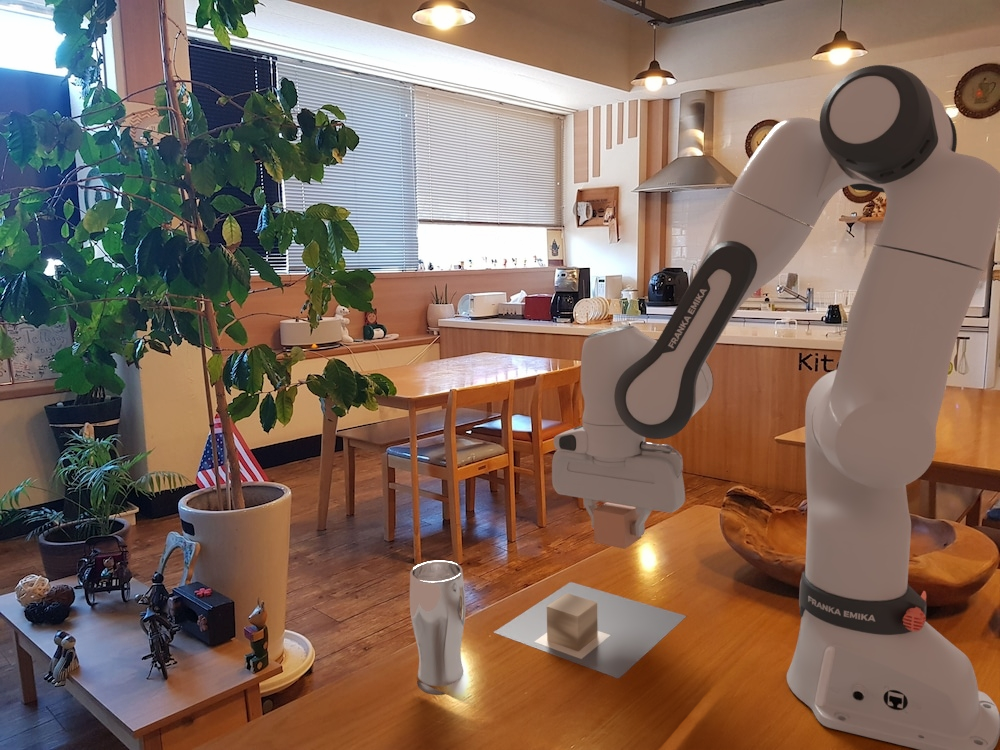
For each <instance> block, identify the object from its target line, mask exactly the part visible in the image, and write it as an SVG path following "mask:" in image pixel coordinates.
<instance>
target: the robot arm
mask: <svg viewBox="0 0 1000 750" xmlns="http://www.w3.org/2000/svg"><path fill="white" fill-rule="evenodd" d="M957 145H958V137H957V130H956V127H955V124H954V122H953V120H952V118H951V117H950V115H949V114H948V113H947V112H946V110H945V107H944V105H943V102H942V101H941V100H940V97H938V96H937V94H935V92H934V91H933V90H931V89H930V88H929V87H928V86H927V85H925V83H924V82H923V81H922V80H921V79H920V77H918V76H917V75H916V74H914V73H913V72H910V71H908V70H906V69H903V68H901V67H898V66H895V65H894V66H893V65H887V64H877V65H875V64H873V65H869V66H865V67H862V68H860V69H857V70H854V71H853V72H850V73H849V74H848V75H846V76H845V77H843V78H842V79H840V81H839V82H838V83H836V84H835V86H833V88H832V89H831V91H830V92H829V93H828V95H827V96H826V98H825V100H824V102H823V104H822V107H821V111H820V115H819V120H817V119H813V118H810V117H797V116H796V117H791V118H786V119H784V120H781V121H779V122H778V123H777V124H775V125H774V126H773V127H772V128H771V130H770V131H769V132H768V133H767V135H766V136H765V137H764V138H763V140H762V141H761V142H760V144H759V145H758V146H757V148H756V149H755V150H754V152H753V153H752V154H751V156H750V158H749V159H748V160H747V162H746V164H745V166H744V167H743V168H742V170H741V171H740V174H738V177H737V179H736V181H734V184H733V186H732V187H731V189H732V190H730V191H729V192H728V195H727V196H726V198H725V200H724V203H723V205H722V207H721V209H720V211H719V214H718V216H717V218H716V221H715V223H714V225H713V228H712V231H711V233H710V236H709V239H708V241H707V244H706V246H705V249H704V251H703V254H702V257H701V259H700V261H699V264H698V265H697V268H696V270H695V273H694V276H693V278H692V279H691V281H690V283H689V285H688V286H687V289H686V291H685V292H684V293H683V294H684V295H682V298H681V299H680V301H679V303H678V304H677V306H676V308H675V310H674V311H673V313H672V315H671V317H670V318H669V320H668V322H667V324H666V326H665V327H664V329H663V330H662V332H661V334H660V335H659V337H658V339H657V340H656V339H654V338H653V337H650V336H648V335H646V334H645V333H644V332H642V331H641V330H640V329H639V328H638V327H636V326H634V325H630V324H629V325H627V324H626V325H619V326H618V325H617V326H614V327H609V328H604V329H602V330H598V331H595V332H593V333H591V334H590V335H588V336H587V337H586V338H585V340H584V341H583V345H582V349H581V359H580V390H581V391H580V392H581V395H582V397H583V400H584V401H583V402H584V410H583V412H582V425H579V426H577V427H574V428H571V429H569V430H566V431H563V432H561V433H559V434H557V435H555V436H554V437H553V446H554V448H555V450H556V451H555V452H554V454H553V457H552V460H551V461H552V463H551V481H552V482H551V483H552V487H553V489H554V491H555V492H556V493H557V494H558V495H562V496H563V495H564V496H568V497H574V498H579V499H580V498H581V499H583V506H584V508H585V510H586V512H587V513H588V515H589V517H590V523H591V525H590V526H591V528H594V516H593V510H594V509H596V508H597V507H598V505H597V503H599V502H603V503H606V502H609V503H614V504H620V505H626V506H632V507H636V514H640V515H639V517H638V519H637V520H635V521H633V522H632V523H630V529H631V530H630V534H631V535H635V536H641V537H642V536H643V535H645V531H646V530H645V529H646V528H645V526H646V525H645V522H647V520H648V518H649V516H650V514H651V513H652V511H657V512H662V513H663V512H664V513H669V514H672V513H674V512H676V511H678V510H679V509H680V508H681V507H682V506H683V505H684V504H685V501H686V493H685V492H686V490H685V483H684V478H683V467H684V465H683V464H684V463H683V460H684V459H683V455H682V454H681V453H680V451H678V450H677V449H675V448H674V447H673V446H672V445H670V444H664V443H663V444H659V443H656V442H655V443H653V442H649V441H648V442H647V441H646V438H647V439H649V440H664V439H667V438H671V437H673V436H675V435H677V434H679V433H680V432H681V431H682V430H683V429H684V428H685V427H686V425H688V423H689V422H690V420H691V418H692V417H694V416H695V415H696V413H698V411H700V409H702V408H703V407H704V405H705V404H706V403H707V402H708V400H709V399H710V397H711V396H712V393H713V390H714V375H713V371H712V369H711V367H710V365H709V364H708V362H707V360H708V358H709V356H710V355H711V353H712V351H713V349H714V348H715V346H716V345H717V343H718V341H719V340H720V337H721V336H722V334H723V332H724V331H725V329H726V328H727V326H728V324H729V322H730V321H731V319H732V318H733V316H734V315H735V314H736V312H737V311H738V310H739V308H741V306H742V305H743V304H744V303H745V302H746V301H748V299H750V297H751V296H753V295H754V294H755V293H756V292H758V291H759V290H760V289H761V288H763V287H764V286H765V285H767V283H769V282H771V281H772V280H773V279H775V278H776V277H777V276H778V275H779V274H780V273H781V272H782V271H783V270H784V269H785V267H786V266H787V265H788V264H789V263H790V262H791V260H792V259H793V258H794V257H795V255H797V253H798V252H799V250H800V249H801V248H802V246H803V245H804V244H805V242H806V240H807V238H808V237H809V236H810V234H811V232H812V230H813V227H815V225H816V224H817V222H818V220H819V218H820V217H821V215H822V213H823V211H824V209H825V207H827V205H828V203H829V202H830V200H831V199H832V198H833V197H834V195H835V194H837V193H838V192H839V191H840V190H842V189H843V188H846V187H848V186H850V188H852V189H853V190H855V191H863V192H864V191H865V192H876V193H883V194H885V198H886V206H885V213H884V217H883V220H882V222H881V226H880V228H879V231H878V233H877V236H876V238H875V242H874V243H873V247H872V250H871V253H870V255H869V258H868V260H867V263H866V266H865V269H864V271H863V273H862V277H861V279H860V281H859V284H858V286H857V290H856V293H855V295H854V298H853V301H852V304H851V306H850V309H849V312H848V317H847V325H846V330H845V331H846V332H845V335H844V339H843V343H842V348H841V352H840V357H839V361H838V365H837V369H834V370H832V371H830V372H827V373H826V374H824V375H823V376H821V377H820V378H819V379H818V380H817V381H816V382H815V383H814V384H813V385H812V387H811V388H810V391H809V392H808V394H807V395H808V396H807V399H806V403H805V409H804V410H805V411H804V412H805V414H804V415H805V418H804V420H805V421H804V422H805V423H804V424H805V425H804V428H805V429H804V430H805V431H804V432H805V433H804V434H805V439H804V440H805V443H804V444H805V447H804V449H805V480H806V482H805V483H806V484H805V485H806V500H807V503H806V504H807V505H806V506H807V509H806V510H807V512H806V513H807V519H806V521H807V522H806V542H805V544H806V546H805V547H806V548H805V568H804V569H805V570H804V571H802V572H801V578H800V582H799V594H798V597H799V598H798V605H799V606H798V607H799V616H800V617H801V619H800V626H799V633H798V637H797V643H796V646H795V650H794V653H793V656H792V660H791V663H790V666H789V668H788V670H787V672H786V682H787V685H788V687H789V689H790V690H791V692H792V693H793V694H794V695H795V696H796V697H797V698H798V699H799V700H800V701H802V702H803V703H804V704H805V705H807V706H808V708H810V709H811V711H812V712H813V714H814V716H815V718H816V719H817V721H818V722H819V723H820V724H821V725H822V726H824V727H826V728H829V729H833V730H836V731H837V730H838V731H842V732H845V733H849V734H853V735H858V736H862V737H865V738H870V739H874V740H879V741H883V742H886V743H887V742H888V743H892V744H896V745H899V746H904V747H907V748H912V749H916V750H994V749H995V748H996V747H997V744H998V743H999V739H1000V712H999V709H998V707H997V704H996V703H995V702H994V701H993V699H992V698H991V697H990V695H988V694H987V693H985V692H983V691H981V690H979V688H978V681H977V677H976V674H975V673H976V672H975V670H974V666H973V664H972V662H971V660H970V659H969V657H968V656H967V655H966V654H965V653H964V652H963V651H961V650H960V649H959V648H958V647H956V645H954V644H953V643H951V641H950V640H948V639H947V638H946V637H945V636H943V635H942V634H941V632H939V631H937V629H935V628H934V627H933V626H932V625H931V624H929V623H928V622H927V621H926V620H927V596H928V595H927V592H926V591H925V590H923V591H922V593H921V595H920V594H918V593H917V592H916V590H914V589H913V588H912V587H911V586H910V585H909V583H908V580H909V566H910V550H911V549H910V548H911V537H912V535H911V533H912V521H911V515H910V511H909V510H910V509H909V504H908V496H907V495H908V493H907V485H909V484H911V483H912V482H914V481H916V480H918V479H919V478H921V477H922V475H924V473H926V471H927V470H928V469H929V467H930V466H931V465H932V462H933V460H934V458H935V454H936V450H937V449H936V448H937V437H936V434H937V424H938V420H939V415H940V411H941V408H942V404H943V400H944V396H945V395H944V394H945V390H946V386H947V380H948V375H949V370H950V365H951V361H952V357H953V352H954V348H955V345H956V343H957V338H958V337H959V336H958V335H959V333H960V330H961V327H962V326H963V322H964V320H965V318H966V315H967V313H968V310H969V307H970V306H971V303H972V301H973V298H974V296H975V293H976V291H977V288H978V286H979V284H980V281H981V278H982V275H983V273H984V271H985V268H986V265H987V262H988V260H989V258H990V255H991V252H992V248H993V246H994V243H995V240H996V235H997V232H998V228H999V224H1000V171H998V169H997V168H996V167H994V166H993V165H992V164H990V163H989V162H987V161H985V160H983V159H981V158H979V157H976V156H973V155H968V154H964V153H957V152H956V151H957Z"/></svg>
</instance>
